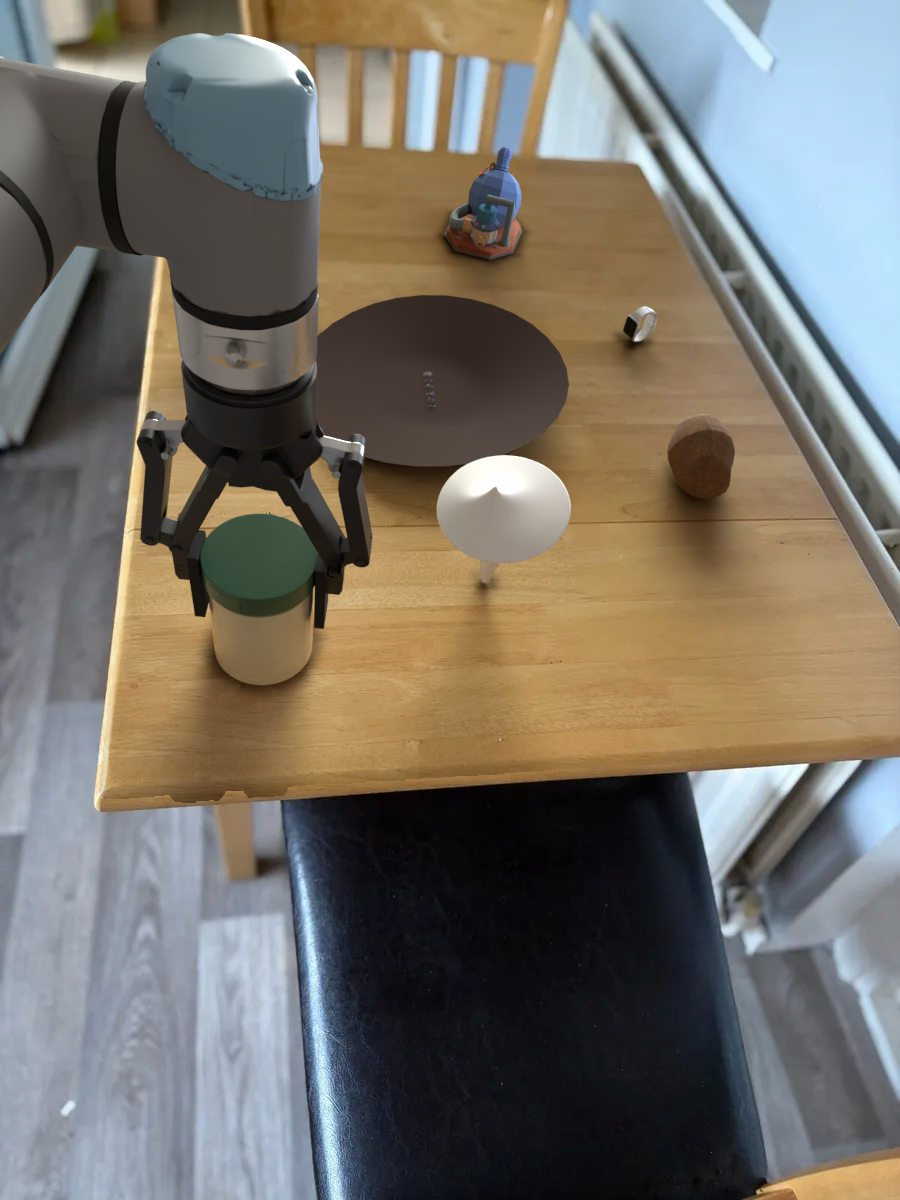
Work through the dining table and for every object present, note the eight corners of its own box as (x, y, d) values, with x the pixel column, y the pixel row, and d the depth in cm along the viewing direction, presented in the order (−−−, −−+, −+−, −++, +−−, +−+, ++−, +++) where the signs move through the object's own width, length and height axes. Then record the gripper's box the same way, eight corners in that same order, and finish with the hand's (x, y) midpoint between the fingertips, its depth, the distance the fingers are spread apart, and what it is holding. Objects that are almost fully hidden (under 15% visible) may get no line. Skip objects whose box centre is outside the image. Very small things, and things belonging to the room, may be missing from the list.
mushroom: (473, 648, 74) (498, 550, 65) (401, 561, 79) (415, 458, 70) (568, 600, 79) (604, 502, 70) (495, 521, 84) (520, 420, 75)
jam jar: (200, 672, 69) (187, 588, 62) (233, 598, 74) (226, 512, 66) (296, 695, 69) (296, 614, 61) (323, 620, 74) (326, 536, 66)
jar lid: (296, 629, 62) (296, 612, 61) (183, 601, 62) (180, 583, 61) (331, 546, 67) (332, 528, 66) (227, 520, 68) (225, 502, 66)
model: (459, 203, 120) (469, 132, 113) (526, 220, 120) (540, 150, 113) (437, 247, 113) (447, 173, 106) (509, 265, 112) (523, 192, 105)
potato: (667, 508, 88) (688, 460, 83) (651, 441, 94) (670, 393, 89) (732, 513, 89) (757, 466, 84) (712, 447, 95) (734, 399, 90)
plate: (294, 306, 101) (294, 276, 98) (538, 320, 106) (544, 292, 103) (292, 481, 84) (292, 451, 81) (583, 488, 88) (593, 460, 85)
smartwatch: (643, 330, 107) (652, 300, 104) (654, 340, 106) (664, 311, 103) (619, 337, 106) (628, 307, 102) (630, 347, 105) (640, 318, 101)
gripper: (36, 375, 47) (107, 634, 65) (432, 422, 49) (397, 662, 67) (77, 295, 52) (133, 556, 70) (437, 341, 54) (403, 585, 71)
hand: (262, 608), depth 68 cm, fingers closed on jar lid, 8 cm apart
